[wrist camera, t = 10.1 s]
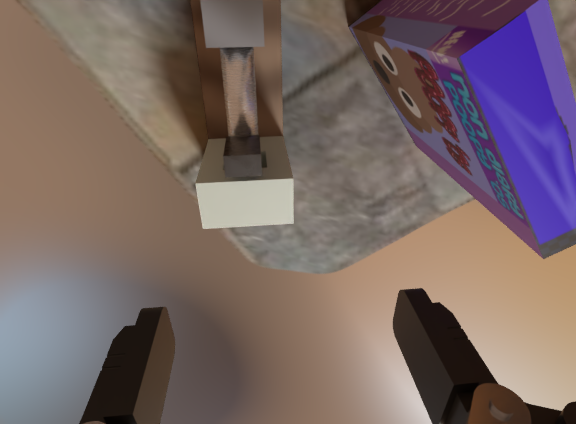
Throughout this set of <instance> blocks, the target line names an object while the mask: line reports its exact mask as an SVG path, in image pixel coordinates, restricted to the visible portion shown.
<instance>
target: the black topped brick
mask: <svg viewBox="0 0 576 424" xmlns="http://www.w3.org/2000/svg"><path fill="white" fill-rule="evenodd" d="M220 57H221V67H222V77H223V87H224V97H225V107H226V116H227V126H228V136H226V142H225V148H224V154H223V160H224V169H225V178H227V177H248V176H262V164H261V148H260V135H258V117H257V99H256V81H255V63H254V47H225V48H220Z"/></svg>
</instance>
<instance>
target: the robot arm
mask: <svg viewBox="0 0 576 424" xmlns="http://www.w3.org/2000/svg"><path fill="white" fill-rule="evenodd" d="M393 330H394V334H395V337H396V340H397V342H398V345H399V347H400V349H401V352H402V354H403V356H404V359H405V361H406V363H407V366H408V367H409V370H410V373H411V375H412V377H413V379H414V382H415V384H416V387H417V389H418V391H419V394H420V396H421V398H422V401H423V403H424V405H425V407H426V410H427V412H428V414H429V417H430V419H431V421H432V424H576V402H571V403H569V404H567V405H566V406H565V408H564V409H563V411H559V410H554V409H549V408H545V407H540V406H536V405H531V404H528V403H525V402H523V400H522V399H521V398H520V397H519V396H518V395H517V394H515V393H514V392H513V391H511V390H510V389H508V388H506V387H504V386H501V385H499V384H498V383H497V381H496V380H495V379H494V377H493V375H492V374H491V373H490V371H489V369H488V368H487V366H486V365H485V363H484V361H483V360H482V358H481V357H480V356H479V354H478V352H477V351H476V349H475V347H474V346H473V345H472V343H471V342H470V340H468V337H467V335H466V334H465V332H464V330H463V329H461V326H460V324H459V323H458V321H457V320H456V318H455V317H454V315H453V313H452V312H450V311H449V310H448V309H447V308H446V307H444V306H443V305H442V304H441V303H440V302H438V303H432V302H431V300H430V298H429V297H428V295H427V294H426V292H425V291H424V290H423V289H422V288H419V289H406V290H400V291H399V293H398V298H397V303H396V307H395V313H394V317H393ZM174 354H175V337H174V333H173V330H172V326H171V322H170V318H169V314H168V310H167V308H166V307H156V308H143V309H141V311H140V313H139V316H138V319H137V321H136V325H133V326H125V327H124V328H123V329H122V330H121V331H120V332H119V334H118V335H117V336H116V337H115V338H114V339H113V341H112V344H111V346H110V349H109V351H108V354H107V358H106V359H105V362H104V364H103V366H102V371H100V374H99V376H98V379H97V381H96V384H95V386H94V389H93V391H92V394H91V396H90V399H89V401H88V404H87V406H86V409H85V411H84V414H83V416H82V419H81V421H80V423H79V424H160V421H161V416H162V411H163V407H164V401H165V398H166V392H167V387H168V383H169V379H170V373H171V369H172V364H173V359H174Z"/></svg>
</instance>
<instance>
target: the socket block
mask: <svg viewBox="0 0 576 424" xmlns="http://www.w3.org/2000/svg"><path fill="white" fill-rule="evenodd" d="M225 142H226V138H222V139H208V142H207V146H206V149H205V153H204V156H203V160H202V163H201V166H200V170H199V173H198V177H197V180H196V190H197V196H198V202H199V208H200V214H201V220H202V226H203V229H210V228H227V227H243V226H260V225H277V224H293V175H292V171H291V167H290V163H289V159H288V154H287V150H286V146H285V142H284V138H283V136H271V137H260V148H261V164H262V176H248V177H227V178H225V169H224V160H223V154H224V148H225Z"/></svg>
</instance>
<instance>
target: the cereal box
mask: <svg viewBox="0 0 576 424" xmlns="http://www.w3.org/2000/svg"><path fill="white" fill-rule="evenodd" d="M349 29H350V30H351V32H352V34H353V36H354V37H355V39H356V41H357V43H358V44H359V46H360V48H361V50H362V52H363V53H364V55H365V57H366V59H367V60H368V62H369V64H370V66H371V67H372V69H373V71H374V73H375V74H376V76H377V78H378V80H379V81H380V83H381V85H382V87H383V88H384V90H385V92H386V94H387V95H388V97H389V99H390V101H391V103H392V104H393V106H394V108H395V110H396V111H397V113H398V115H399V117H400V118H401V120H402V122H403V124H404V125H405V127H406V129H407V131H408V132H409V134H410V136H411V138H412V139H413V141H414V143H415V145H416V146H417V147H418V148H419V149H420V150H421V151H423V152H424V153H425V154H426V155H427V156H428V157H429V158H430V159H432V160H433V161H434V162H435V163H436V164H437V165H438V166H439V167H441V168H442V169H443V170H444V171H445V172H446V173H447V174H448V175H450V176H451V177H452V178H453V179H454V180H455V181H456V182H457V183H458V184H460V185H461V186H462V187H463V188H464V189H465V190H466V191H467V192H469V193H470V194H471V195H472V196H473V197H474V198H475V199H476V200H478V201H479V202H480V203H481V204H482V205H483V206H484V207H485V208H487V209H488V210H489V211H490V212H491V213H492V214H494V216H496V217H497V218H498V219H499V220H500V221H501V222H502V223H503V224H505V225H506V226H507V227H508V228H509V229H510V230H511V231H513V232H514V233H515V234H516V235H517V236H518V237H519V238H520V239H521V240H523V241H524V242H525V243H526V244H527V245H528V246H529V247H531V248H532V249H533V250H534V251H535V252H536V253H537V254H538V255H539V256H541V257H542V258H543V259H545V258H547V257H549V256H551V255H553V254H555V253H558V252H560V251H562V250H564V249H566V248H569V247H571V246H573V245H575V244H576V103H575V99H574V95H573V92H572V88H571V84H570V81H569V77H568V73H567V70H566V66H565V62H564V58H563V55H562V51H561V47H560V44H559V40H558V36H557V33H556V29H555V25H554V22H553V18H552V14H551V10H550V7H549V3H548V0H381V1H380V2H379V3H378V4H376V5H375V6H374V7H373V8H371V9H370V10H369V11H368V12H366V13H365V14H364V15H363V16H361V17H360V18H359V19H358V20H356V21H355V22H354V23H353V24H351V25H350V26H349Z"/></svg>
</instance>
